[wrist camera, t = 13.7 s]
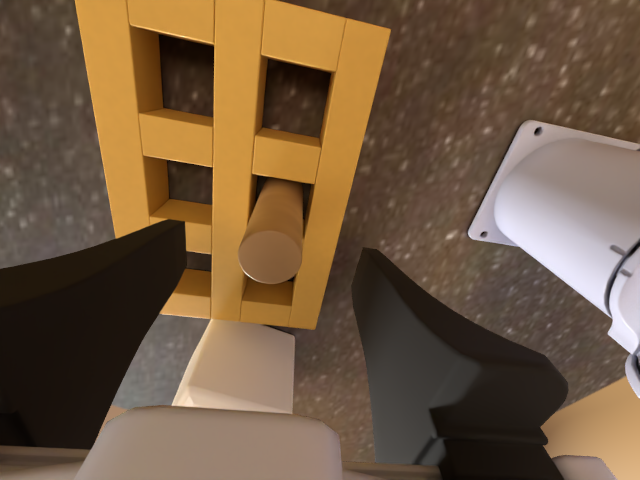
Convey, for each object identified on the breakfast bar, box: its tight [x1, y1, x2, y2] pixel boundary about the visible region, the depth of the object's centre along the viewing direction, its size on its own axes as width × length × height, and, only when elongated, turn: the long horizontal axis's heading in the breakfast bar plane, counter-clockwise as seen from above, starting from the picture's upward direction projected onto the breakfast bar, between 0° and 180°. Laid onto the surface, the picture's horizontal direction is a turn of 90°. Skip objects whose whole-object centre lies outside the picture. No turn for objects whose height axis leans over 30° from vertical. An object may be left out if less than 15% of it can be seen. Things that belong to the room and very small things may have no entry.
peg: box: [238, 177, 303, 284], centre depth 15 cm, size 3×3×8 cm
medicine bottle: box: [172, 319, 295, 414], centre depth 20 cm, size 7×7×12 cm
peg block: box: [75, 0, 391, 330], centre depth 17 cm, size 13×18×3 cm
